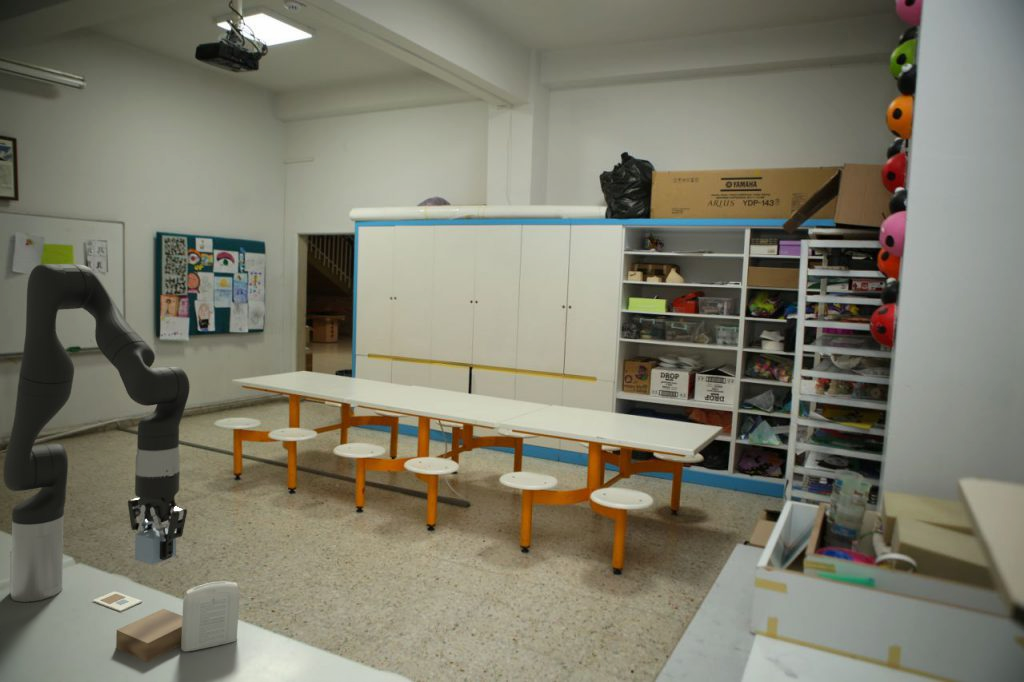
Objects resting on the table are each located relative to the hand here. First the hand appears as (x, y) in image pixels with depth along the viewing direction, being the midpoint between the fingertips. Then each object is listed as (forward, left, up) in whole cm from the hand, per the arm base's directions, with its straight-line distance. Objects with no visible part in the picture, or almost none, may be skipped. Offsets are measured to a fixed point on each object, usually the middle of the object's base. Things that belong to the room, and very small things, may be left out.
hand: (156, 555), depth 125 cm
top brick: (0, 0, 0) cm, 0 cm away
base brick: (0, +1, -18) cm, 18 cm away
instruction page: (-21, +8, -18) cm, 29 cm away
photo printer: (+9, +6, -18) cm, 21 cm away
